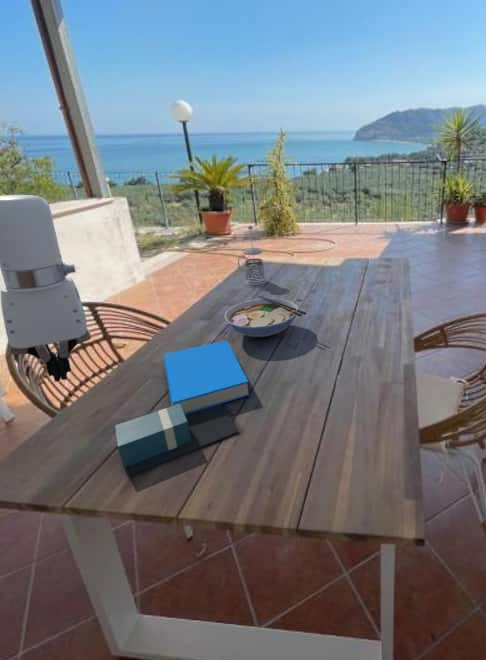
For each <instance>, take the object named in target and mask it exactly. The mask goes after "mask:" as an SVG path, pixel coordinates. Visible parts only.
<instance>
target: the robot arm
mask: <svg viewBox="0 0 486 660" xmlns="http://www.w3.org/2000/svg"><path fill="white" fill-rule="evenodd" d="M0 272H1V276H2V278H3V282H4V285H2V286H1V287H0V305H1V312H2V318H3V324H4V330H5V334H6V339H7V341H8V343H9V345H10V346H9V347H10V348H9V349H10V350H9V352H10V353H9V354H11V355H15V356H16V355H17V356H19V355H30V356H33V357H34V358H37V359H40V360H41V362H44V364H45V367H46V372H47V375H48V377H52V376H53V379H54V382H55V383H57V382H59V381H60V380H62V381H65V380H68V373H70V372H71V371H72V368H71V363H70V359H69V354H70V353H71V352H72V351H73V349H74V348H75V347H76V346H77V345H80V344H82V343H86V342H88V341H90V340H91V339H92V334H91V332H90V331H89V328H88V327H87V318H86V314H85V310H84V307H83V302H82V300H81V297H80V293H79V290H78V287H77V286H76V284H75V281H74V280H73V278H72V277H70V276H68V275H71V274H73V273H77V272H76V266H75V264H69V263H66V262H64V261H63V257H62V254H61V250H60V246H59V242H58V237H57V233H56V228H55V223H54V219H53V215H52V210H51V207H50V204H49V202H48V200H46V199H45V198H44V197H42V196H39V195H36V194H35V195H34V194H6V195H0ZM56 343H58V350H57V354H56V353H55V352H54V351H52V349H51V347H50V345H51V344H56Z"/></svg>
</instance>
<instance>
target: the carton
mask: <svg viewBox="0 0 486 660" xmlns="http://www.w3.org/2000/svg"><path fill="white" fill-rule="evenodd" d="M185 415H186V414H184V412H183V410H182V407H181V405H180V404H177V405H174V406H171V405H170V406H169V407H165V408H162V409H159V410H156V411H154V412H151V413H148V414H145V415H142V416H139V417H136V418H133V419H130V420H127V421H125V422H120V423H118V424H116V425H114V430H115V436H116V437H115V438H116V444H117V449H118V452H119V457H120V460H121V463H122V467H123V468H128V467H129V466H130V465H132V464H135V463H138V462H140V461H143V460H145V459H148V458H150V457H153V456H155V455H158V454H161V453H163V452H166V451H168V450H171V449H174V448H176V447H178V446H181V445H183V444H186V443H189V442H191V437H190V432H189V427H188V422H187V419H186V417H185Z"/></svg>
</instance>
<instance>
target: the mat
mask: <svg viewBox="0 0 486 660" xmlns="http://www.w3.org/2000/svg"><path fill="white" fill-rule="evenodd" d="M185 417H186V419H187V422H188V427H189V432H190V437H191V442H189V443H186V444H183V445H181V446H178V447H176V448H174V449H171V450H168V451H166V452H163V453H161V454H158V455H155V456H153V457H150V458H148V459H145V460H143V461H140V462H138V463H135V464H132V465H130V466H128V471H129V475H130V477H132V476H135V475H138V474H141V473H142V472H144V471H145V472H146V471H148V470H150V469H153V468H155V467H157V466H160V465H163V464H165V463H167V462H170V461H173V460H175V459H177V458H180V457H183V456H185V455H186V454H190V453H192V452H195V451H197V450H199V449H203V448H204V447H207V446H209V445H212V444H214V443H217V442H220V441H221V440H224V439H227V438H229V437H232V436H234V435H237V434H239V430H238V428H237V426H236V425H235V423H234V422H233V420H232V418H231V416H230V414H229V412H228V411H227V409H226V407H225V405H224V403H222V404H219V405H215V406H212V407H209V408H205V409H202V410H199V411H195V412H192V413H189V414H185Z"/></svg>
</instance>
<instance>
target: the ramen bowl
mask: <svg viewBox="0 0 486 660" xmlns="http://www.w3.org/2000/svg"><path fill="white" fill-rule="evenodd" d="M257 297H258V298H255V299H250V300H246V301H242V302H240V303H237V304H235V305H233V306H231V307H230V308H229V309H228V310H226V311H225V312H224V319H225V321H226V322H227V323H228V325H229V326H230V327H231V328H232V329H233V330H234V331H236V332H237V333H238V334H242V335H245V336H247V337H254V338H267V337H269V336H273V335H276V334H279V333H280V332H282V331H284V330H286V329H287V328H288V327H289V326H290V324H291V323H292V322H293V321H294V319H296V316H298V317H302V315H304V316H305V315H307V312H306V311H304V310H301V309H298V305H297V304H295V303H293V302H292V301H291V300H286V299H283V298H274V297H264V296H262V295H259V294H258V295H257Z"/></svg>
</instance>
